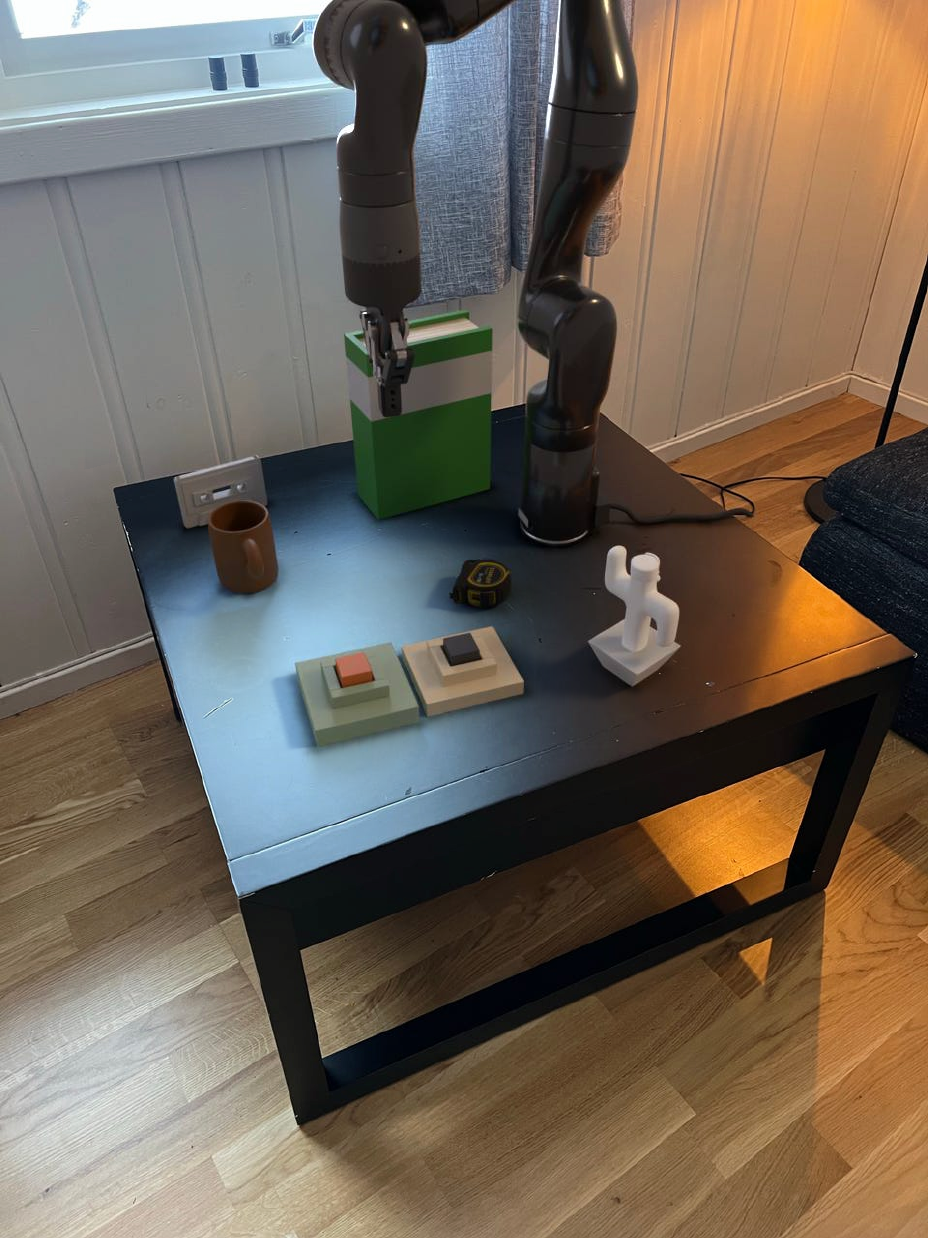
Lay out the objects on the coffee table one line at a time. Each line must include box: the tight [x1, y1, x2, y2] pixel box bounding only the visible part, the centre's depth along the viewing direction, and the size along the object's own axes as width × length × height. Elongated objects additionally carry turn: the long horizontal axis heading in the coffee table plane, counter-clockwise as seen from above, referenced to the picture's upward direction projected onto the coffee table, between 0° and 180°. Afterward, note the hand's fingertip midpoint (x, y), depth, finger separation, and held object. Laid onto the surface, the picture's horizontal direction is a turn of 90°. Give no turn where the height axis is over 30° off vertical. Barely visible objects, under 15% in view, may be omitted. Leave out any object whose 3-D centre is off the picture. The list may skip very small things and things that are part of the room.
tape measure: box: [448, 558, 513, 608], centre depth 114 cm, size 7×7×4 cm
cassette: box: [173, 455, 268, 529], centre depth 128 cm, size 12×2×8 cm, turn 121°
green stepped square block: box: [294, 641, 420, 748], centre depth 100 cm, size 11×11×4 cm
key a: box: [443, 633, 480, 666], centre depth 102 cm, size 3×3×2 cm
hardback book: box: [343, 309, 493, 520], centre depth 127 cm, size 18×7×24 cm, turn 117°
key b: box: [335, 652, 372, 688], centre depth 99 cm, size 3×3×2 cm
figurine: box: [587, 545, 682, 687], centre depth 101 cm, size 7×9×15 cm
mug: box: [207, 500, 279, 595], centre depth 114 cm, size 12×8×9 cm, turn 24°
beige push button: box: [400, 625, 525, 717], centre depth 103 cm, size 11×10×4 cm
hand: (390, 413), depth 100 cm, fingers closed
